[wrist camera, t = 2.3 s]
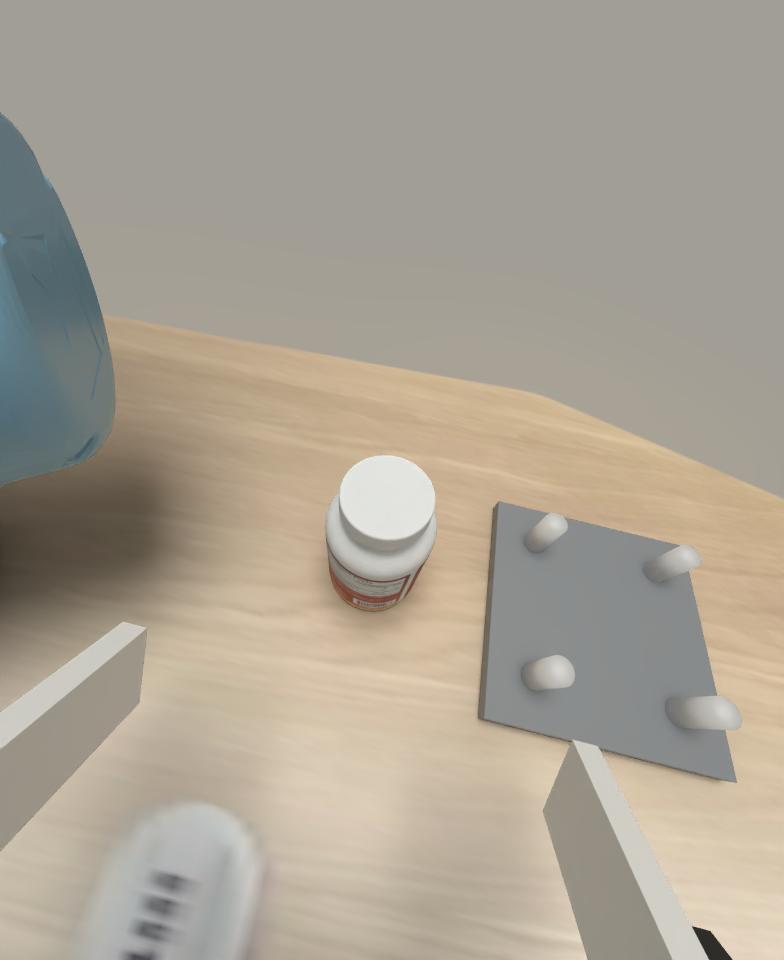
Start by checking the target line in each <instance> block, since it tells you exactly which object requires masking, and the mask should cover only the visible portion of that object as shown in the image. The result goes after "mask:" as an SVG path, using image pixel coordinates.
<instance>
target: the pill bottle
mask: <svg viewBox="0 0 784 960" xmlns="http://www.w3.org/2000/svg"><path fill="white" fill-rule="evenodd" d="M435 502H436V499H435V491H434V488H433V485H432V483H431V481H430V479H429V478H428V476H427V475H426V474H425V472H424V471H423V470H422V469H421V468H419V467H418V466H417V465H415V464H414V463H412V462H410V461H408V460H406V459H404V458H400V457H396V456H388V455H381V456H373V457H370V458H367V459H364V460H362V461H360V462H358V463H357V464H355V465H354V466H353V467H352V468H351V469H350V470H349V471H348V472H347V473H346V475H345V476H344V478H343V480H342V482H341V485H340V489H339V492H338V493H337V494H336V495H335V497H334V498H333V500H332V502H331V504H330V506H329V508H328V511H327V515H326V524H325V528H326V541H327V550H328V559H329V570H330V576H331V580H332V583H333V585H334V587H335V589H336V591H337V592H338V593H339V595H340V596H341V597H342V598H343V599H344V600H345V601H347V602H348V603H349V604H351V605H353V606H355V607H357V608H360V609H363V610H370V611H377V610H383V609H387V608H389V607H392V606H394V605H395V604H397V603H398V602H400V601H401V600H402V599H403V598H404V597H405V596H406V595H407V594H408V592H409V591H410V589H411V588H412V586H413V584H414V582H415V580H416V578H417V576H418V574H419V573H420V571H421V569H422V567H423V565H424V563H425V562H426V560H427V558H428V556H429V554H430V552H431V550H432V548H433V545H434V542H435V538H436V532H437V522H436V516H435V512H434V509H435Z"/></svg>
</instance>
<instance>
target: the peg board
mask: <svg viewBox="0 0 784 960" xmlns="http://www.w3.org/2000/svg"><path fill="white" fill-rule="evenodd" d="M701 563H702V559H701V556H700V554H699V553H698V552H697V551H696V550H695V549H694V548H693V547H691V546H689V545H681V546H679V545H675V544H671V543H667V542H663V541H659V540H655V539H651V538H647V537H643V536H638V535H634V534H630V533H626V532H622V531H618V530H614V529H610V528H606V527H602V526H598V525H593V524H589V523H585V522H581V521H577V520H573V519H569V518H565V517H563V516H561V515H560V514H558V513H549V514H548V513H544V512H540V511H536V510H532V509H528V508H524V507H520V506H516V505H512V504H508V503H503V502H498V503H497V504H496V506H495V507H494V510H493V524H492V537H491V551H490V564H489V578H488V591H487V604H486V618H485V631H484V645H483V658H482V672H481V685H480V699H479V712H478V718H479V719H483V720H487V721H491V722H495V723H499V724H503V725H507V726H511V727H515V728H519V729H523V730H526V731H530V732H534V733H538V734H542V735H546V736H550V737H554V738H558V739H562V740H566V741H570V742H572V739H573V740H577V741H580V742H584V743H588V744H592V745H596V746H598V747H599V749H601V750H605V751H609V752H613V753H617V754H621V755H624V756H628V757H632V758H636V759H640V760H644V761H648V762H652V763H656V764H660V765H664V766H668V767H672V768H675V769H679V770H683V771H687V772H691V773H695V774H699V775H703V776H707V777H711V778H715V779H719V780H724V781H730V782H735V783H737V780H736V776H735V772H734V767H733V763H732V758H731V754H730V750H729V745H728V741H727V736H726V732H725V730H737V729H739V728H740V726H741V723H742V719H741V715H740V712H739V710H738V708H737V707H736V705H735V704H734V703H733V702H732V701H731V700H729V699H728V698H726V697H724V696H717V693H716V688H715V684H714V679H713V675H712V671H711V666H710V662H709V657H708V653H707V649H706V644H705V640H704V636H703V631H702V627H701V622H700V618H699V614H698V609H697V605H696V600H695V596H694V592H693V587H692V583H691V578H690V574H689V570H692V569H694V568H696V567H699V566H700V565H701Z"/></svg>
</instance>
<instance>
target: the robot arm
mask: <svg viewBox="0 0 784 960" xmlns="http://www.w3.org/2000/svg"><path fill="white" fill-rule="evenodd" d="M114 413H115V381H114V372H113V364H112V358H111V352H110V347H109V342H108V337H107V333H106V329H105V325H104V321H103V317H102V313H101V310H100V306H99V303H98V299H97V296H96V292H95V289H94V286H93V283H92V280H91V277H90V274H89V271H88V268H87V266H86V263H85V260H84V257H83V254H82V252H81V249H80V246H79V244H78V241H77V239H76V237H75V234H74V231H73V229H72V226H71V224H70V221H69V219H68V217H67V215H66V212H65V210H64V208H63V206H62V204H61V201H60V199H59V197H58V195H57V194H56V192H55V190H54V188H53V186H52V185H51V183H50V181H49V180H48V179H47V178H46V177H45V176H44V175H43V173H42V171H41V169H40V166H39V164H38V161H37V159H36V157H35V155H34V153H33V151H32V150H31V148H30V147H29V145H28V144H27V142H26V140H25V139H24V138H23V136H22V134H21V133H20V132H19V131H18V129H17V128H16V127H15V126H14V125H13V124H12V122H11V121H10V120H8V119H7V118H6V117H5V116H4V115H3V114H1V113H0V488H2V487H3V486H4V485H5V484H8V483H11V482H15V481H19V480H23V479H27V478H31V477H35V476H39V475H42V474H46V473H50V472H54V471H58V470H62V469H66V468H69V467H72V466H75V465H77V464H79V463H81V462H84V461H85V460H87V459H89V458H90V457H91V456H93V455H94V454H95V453H96V452H97V451H98V450H99V449H100V448H101V446H102V445H103V444H104V442H105V441H106V439H107V437H108V435H109V433H110V431H111V428H112V424H113V419H114ZM146 636H147V628H146V627H142V626H138V625H134V624H131V623H127V622H122V623H121V624H119V625H118V626H117V627H115V628H114V629H112V630H111V631H110V632H108V633H107V634H106V635H104V636H103V637H102V638H100V639H99V640H98V641H96V642H95V643H93V644H92V645H91V646H89V647H88V648H87V649H85V650H84V651H83V652H81V653H80V654H79V655H77V656H76V657H74V658H73V659H72V660H70V661H69V662H68V663H66V664H65V665H64V666H62V667H61V668H60V669H58V670H57V671H56V672H54V673H53V674H51V675H50V676H49V677H47V678H46V679H45V680H43V681H42V682H41V683H39V684H38V685H37V686H35V687H34V688H32V689H31V690H30V691H28V692H27V693H26V694H24V695H23V696H22V697H20V698H19V699H18V700H16V701H15V702H13V703H12V704H11V705H9V706H8V707H7V708H5V709H4V710H3V711H1V712H0V851H1V850H2V849H3V848H4V847H5V846H6V845H7V844H8V843H9V842H10V841H11V839H12V838H13V837H14V836H15V835H16V834H17V833H18V832H19V831H20V830H21V829H22V828H23V827H24V826H25V825H26V823H27V822H28V821H29V820H30V819H31V818H32V817H33V816H34V815H35V814H36V813H37V812H38V811H39V810H40V808H41V807H42V806H43V805H44V804H45V803H46V802H47V801H48V800H49V799H50V798H51V797H52V796H53V795H54V793H55V792H56V791H57V790H58V789H59V788H60V787H61V786H62V785H63V784H64V783H65V782H66V781H67V780H68V779H69V777H70V776H71V775H72V774H73V773H74V772H75V771H76V770H77V769H78V768H79V767H80V766H81V765H82V764H83V762H84V761H85V760H86V759H87V758H88V757H89V756H90V755H91V754H92V753H93V752H94V751H95V750H96V749H97V747H98V746H99V745H100V744H101V743H102V742H103V741H104V740H105V739H106V738H107V737H108V736H109V735H110V734H111V733H112V731H113V730H114V729H115V728H116V727H117V726H118V725H119V724H120V723H121V722H122V721H123V720H124V719H125V718H126V716H127V715H128V714H129V713H130V712H131V711H132V710H133V709H134V708H135V707H136V706H137V705H138V704H139V700H140V691H141V682H142V673H143V664H144V654H145V645H146ZM543 813H544V817H545V820H546V823H547V826H548V830H549V833H550V836H551V840H552V843H553V846H554V850H555V853H556V856H557V860H558V863H559V866H560V869H561V873H562V876H563V879H564V883H565V886H566V889H567V893H568V896H569V899H570V902H571V906H572V909H573V912H574V916H575V919H576V922H577V926H578V929H579V932H580V936H581V939H582V942H583V945H584V949H585V952H586V955H587V959H588V960H732V958H731V957H730V956H729V955H728V953H727V952H726V951H725V949H724V948H723V947H722V946H721V944H720V943H719V942H718V940H717V939H716V938H715V937H714V935H713V934H712V933H711V931H708V930H704V929H701V928H697V927H693V926H691V924H690V922H689V920H688V918H687V916H686V915H685V913H684V911H683V909H682V907H681V905H680V903H679V901H678V899H677V897H676V895H675V893H674V892H673V890H672V888H671V886H670V884H669V882H668V880H667V878H666V876H665V874H664V872H663V870H662V868H661V867H660V865H659V863H658V861H657V859H656V857H655V855H654V853H653V851H652V849H651V847H650V845H649V843H648V842H647V840H646V838H645V836H644V834H643V832H642V830H641V828H640V826H639V824H638V822H637V820H636V818H635V817H634V815H633V813H632V811H631V809H630V807H629V805H628V803H627V801H626V799H625V797H624V795H623V793H622V792H621V790H620V788H619V786H618V784H617V782H616V780H615V778H614V776H613V774H612V772H611V770H610V768H609V767H608V765H607V763H606V761H605V759H604V757H603V755H602V753H601V751H600V749H599V747H598V746H596V745H592V744H588V743H584V742H580V741H577V740H573V739H572V742H571V744H570V746H569V749H568V751H567V754H566V756H565V758H564V761H563V763H562V766H561V768H560V770H559V773H558V775H557V777H556V780H555V782H554V785H553V787H552V789H551V792H550V794H549V797H548V799H547V801H546V804H545V806H544V809H543Z"/></svg>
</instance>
